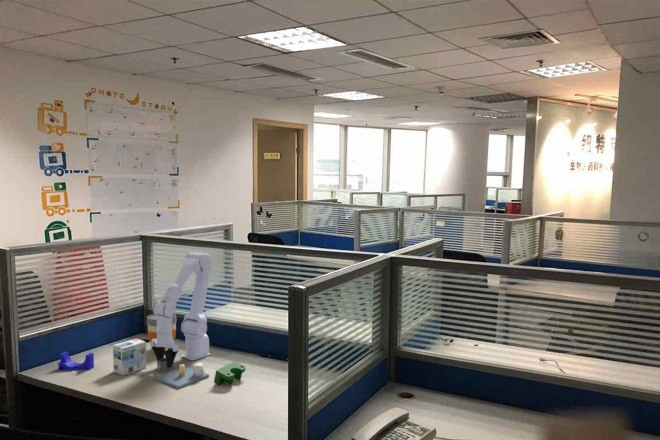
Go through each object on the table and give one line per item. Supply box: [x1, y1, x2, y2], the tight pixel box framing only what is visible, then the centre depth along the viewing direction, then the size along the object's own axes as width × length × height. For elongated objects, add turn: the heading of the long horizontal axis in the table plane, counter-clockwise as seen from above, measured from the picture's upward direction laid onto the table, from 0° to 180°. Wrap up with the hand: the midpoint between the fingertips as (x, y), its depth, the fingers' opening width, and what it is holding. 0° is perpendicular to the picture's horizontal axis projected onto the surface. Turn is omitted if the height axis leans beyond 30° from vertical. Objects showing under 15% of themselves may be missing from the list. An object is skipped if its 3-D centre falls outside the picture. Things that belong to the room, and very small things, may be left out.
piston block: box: [154, 362, 210, 390], centre depth 196 cm, size 14×14×5 cm
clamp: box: [213, 360, 246, 386], centre depth 193 cm, size 12×6×9 cm, turn 148°
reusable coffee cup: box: [146, 313, 178, 353], centre depth 227 cm, size 13×13×15 cm
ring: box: [156, 357, 174, 372], centre depth 205 cm, size 6×6×4 cm
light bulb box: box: [112, 338, 147, 376], centre depth 204 cm, size 11×7×11 cm, turn 143°
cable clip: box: [57, 351, 95, 372], centre depth 204 cm, size 12×4×6 cm, turn 85°
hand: (165, 365), depth 205 cm, fingers closed on ring, 6 cm apart
